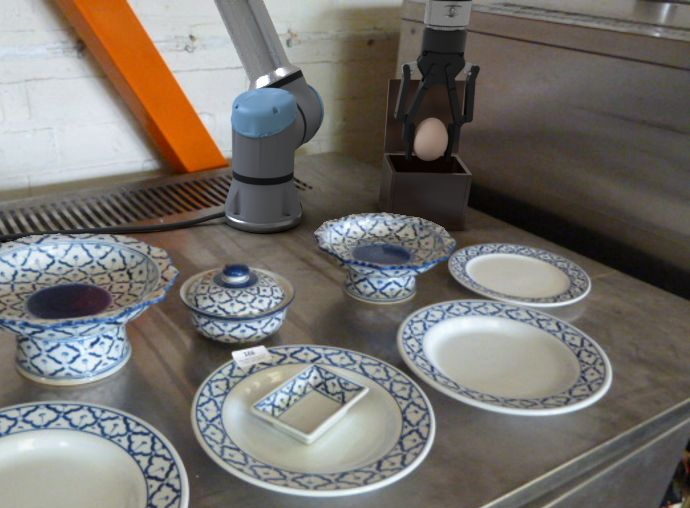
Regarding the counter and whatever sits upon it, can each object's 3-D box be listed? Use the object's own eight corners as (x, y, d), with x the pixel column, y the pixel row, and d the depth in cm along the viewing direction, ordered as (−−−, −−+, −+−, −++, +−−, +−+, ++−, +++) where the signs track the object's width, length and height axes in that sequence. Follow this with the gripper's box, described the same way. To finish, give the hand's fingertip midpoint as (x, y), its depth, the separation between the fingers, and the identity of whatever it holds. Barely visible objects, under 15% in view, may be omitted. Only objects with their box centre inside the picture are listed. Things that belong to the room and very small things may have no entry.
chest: (462, 230, 125) (472, 175, 120) (385, 228, 125) (392, 173, 120) (449, 206, 136) (457, 155, 131) (378, 204, 136) (383, 153, 131)
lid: (465, 80, 126) (458, 82, 131) (389, 78, 127) (385, 81, 132) (458, 152, 130) (452, 152, 135) (384, 151, 130) (380, 150, 135)
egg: (451, 160, 125) (458, 118, 121) (433, 168, 121) (440, 124, 117) (420, 153, 129) (426, 112, 125) (402, 160, 125) (407, 118, 121)
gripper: (391, 28, 110) (377, 163, 122) (509, 31, 110) (484, 166, 121) (385, 23, 117) (373, 152, 128) (496, 25, 116) (474, 154, 128)
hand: (427, 158), depth 125 cm, fingers closed on egg, 7 cm apart
